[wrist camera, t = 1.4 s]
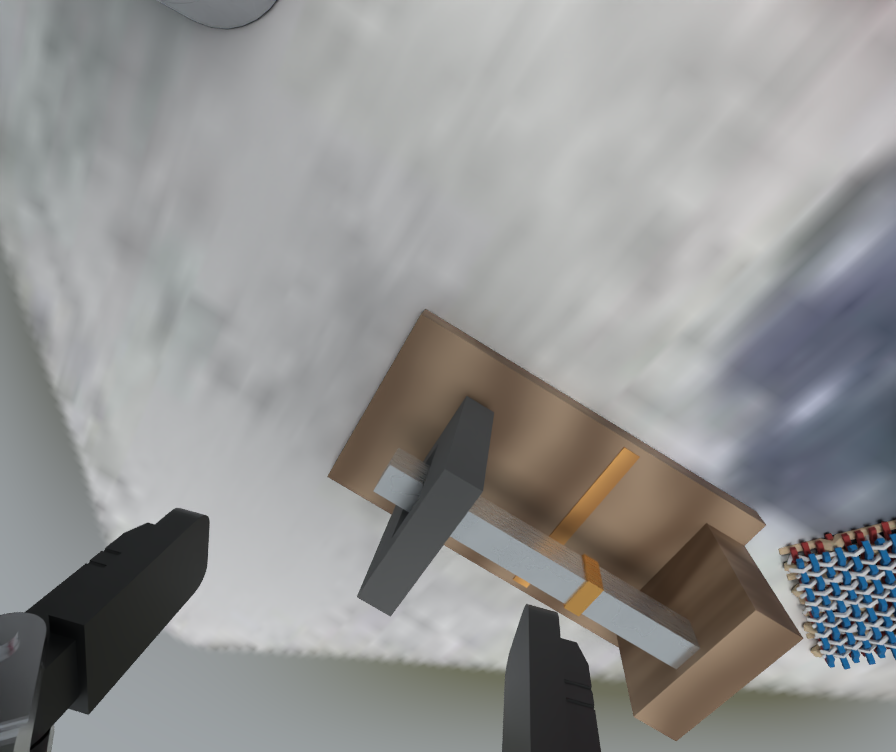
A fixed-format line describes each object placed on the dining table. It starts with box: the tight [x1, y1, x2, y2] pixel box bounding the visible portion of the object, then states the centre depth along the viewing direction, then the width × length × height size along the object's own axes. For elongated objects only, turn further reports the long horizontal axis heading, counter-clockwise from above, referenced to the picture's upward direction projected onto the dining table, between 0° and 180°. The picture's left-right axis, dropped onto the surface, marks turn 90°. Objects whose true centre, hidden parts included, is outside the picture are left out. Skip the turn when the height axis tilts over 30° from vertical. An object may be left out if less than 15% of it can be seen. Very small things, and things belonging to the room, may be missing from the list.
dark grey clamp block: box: [357, 396, 494, 616], centre depth 28 cm, size 2×9×9 cm, turn 150°
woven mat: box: [779, 520, 896, 669], centre depth 34 cm, size 10×11×2 cm
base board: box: [327, 309, 803, 741], centre depth 31 cm, size 26×14×9 cm, turn 60°
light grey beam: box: [374, 448, 700, 669], centre depth 29 cm, size 20×2×2 cm, turn 60°
